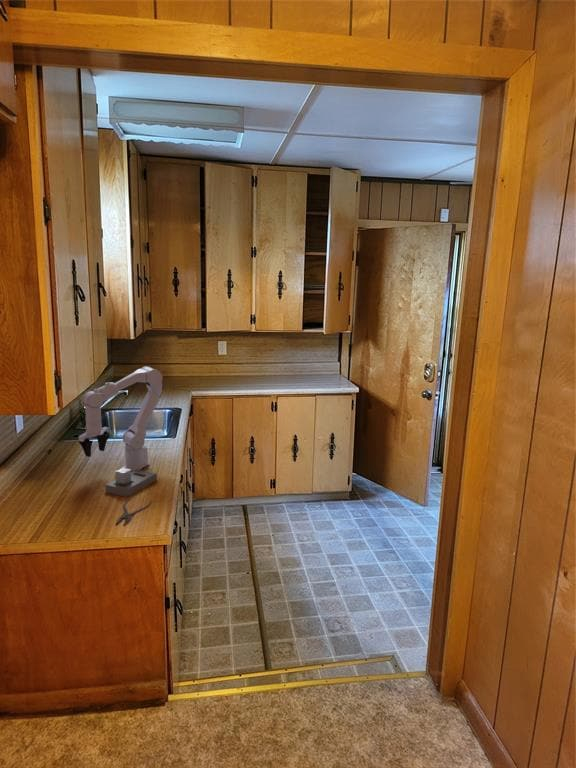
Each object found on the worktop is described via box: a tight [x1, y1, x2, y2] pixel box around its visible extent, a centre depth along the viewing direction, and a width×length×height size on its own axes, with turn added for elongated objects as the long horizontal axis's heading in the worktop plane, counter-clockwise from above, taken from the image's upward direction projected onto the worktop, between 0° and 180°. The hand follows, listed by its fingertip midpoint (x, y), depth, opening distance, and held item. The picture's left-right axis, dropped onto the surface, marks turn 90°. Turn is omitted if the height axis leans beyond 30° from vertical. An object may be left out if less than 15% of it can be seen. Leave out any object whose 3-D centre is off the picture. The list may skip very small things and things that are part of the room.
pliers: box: [115, 499, 153, 527], centre depth 169 cm, size 10×1×20 cm
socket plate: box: [104, 469, 158, 498], centre depth 189 cm, size 18×10×3 cm, turn 158°
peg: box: [114, 467, 132, 487], centre depth 185 cm, size 4×4×8 cm
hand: (95, 453), depth 197 cm, fingers open, 7 cm apart
